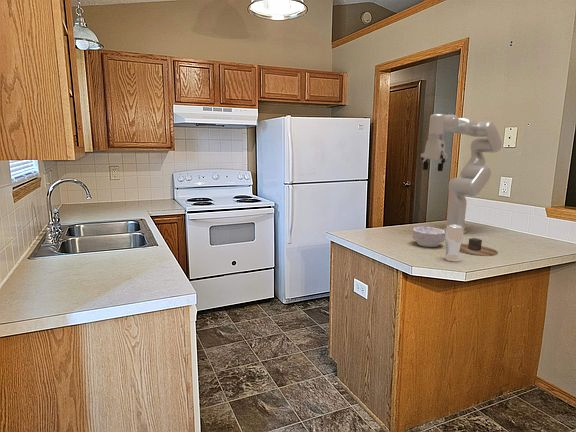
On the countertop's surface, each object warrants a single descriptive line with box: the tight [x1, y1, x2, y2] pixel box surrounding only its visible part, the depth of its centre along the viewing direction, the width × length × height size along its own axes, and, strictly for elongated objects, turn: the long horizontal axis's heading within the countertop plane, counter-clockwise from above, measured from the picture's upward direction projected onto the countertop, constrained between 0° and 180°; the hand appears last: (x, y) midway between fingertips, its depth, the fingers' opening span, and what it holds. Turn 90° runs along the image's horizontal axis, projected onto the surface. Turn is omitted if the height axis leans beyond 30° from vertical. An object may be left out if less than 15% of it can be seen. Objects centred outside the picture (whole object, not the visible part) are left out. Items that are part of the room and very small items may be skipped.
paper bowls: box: [411, 226, 446, 248], centre depth 192 cm, size 15×15×8 cm
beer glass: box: [444, 225, 464, 263], centre depth 167 cm, size 7×7×15 cm
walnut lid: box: [459, 237, 499, 257], centre depth 185 cm, size 20×20×6 cm
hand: (432, 170), depth 207 cm, fingers open, 9 cm apart
